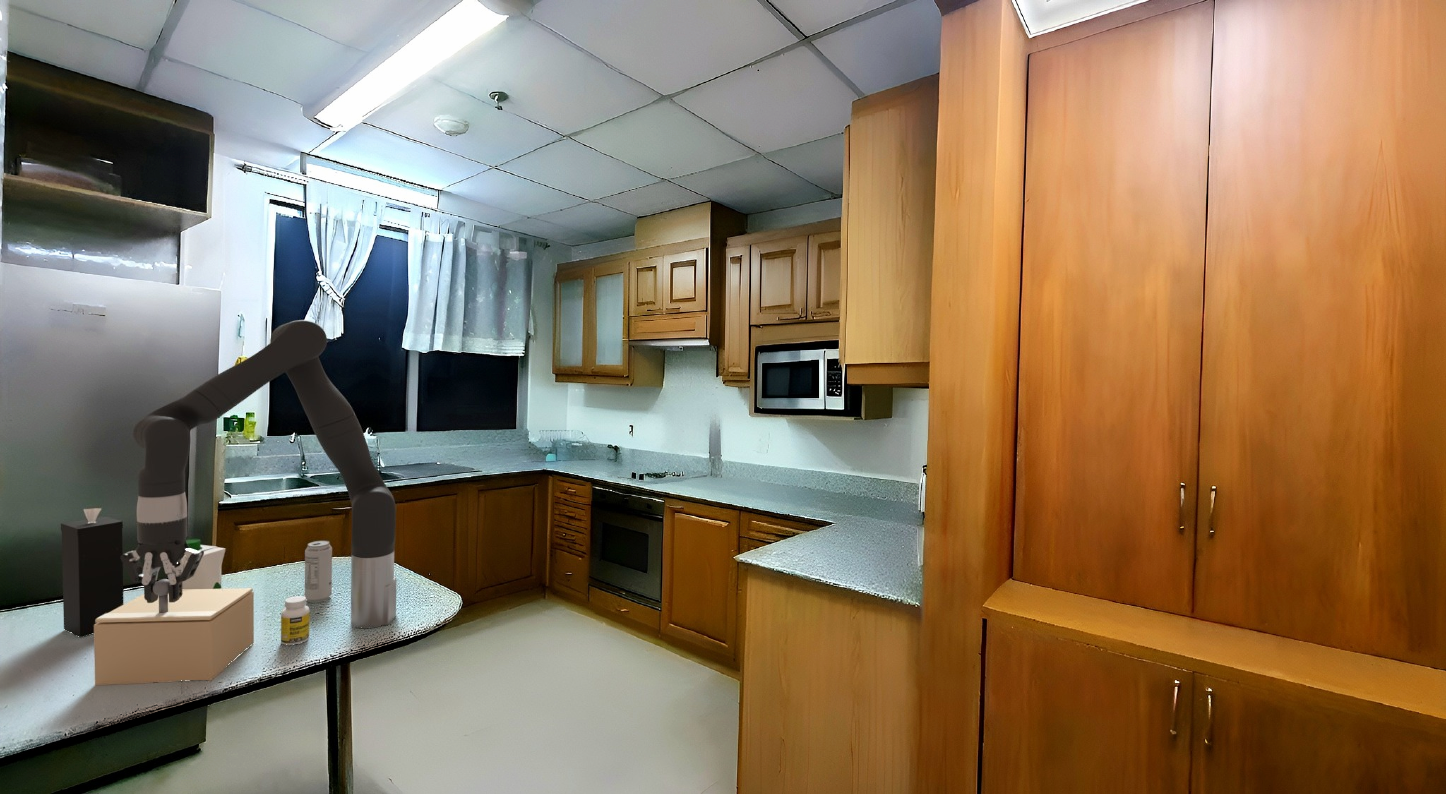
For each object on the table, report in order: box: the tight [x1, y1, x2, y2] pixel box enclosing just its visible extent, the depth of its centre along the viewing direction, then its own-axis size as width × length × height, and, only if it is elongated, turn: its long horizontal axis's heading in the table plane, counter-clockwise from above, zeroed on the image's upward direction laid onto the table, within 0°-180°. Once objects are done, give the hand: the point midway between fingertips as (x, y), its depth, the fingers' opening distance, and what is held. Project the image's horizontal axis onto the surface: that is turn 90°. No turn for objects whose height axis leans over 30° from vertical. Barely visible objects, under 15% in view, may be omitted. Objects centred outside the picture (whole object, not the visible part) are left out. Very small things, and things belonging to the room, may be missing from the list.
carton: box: [93, 591, 255, 686], centre depth 135 cm, size 20×16×12 cm
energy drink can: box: [304, 540, 333, 604], centre depth 171 cm, size 6×6×15 cm
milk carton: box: [181, 538, 227, 589], centre depth 152 cm, size 9×9×20 cm
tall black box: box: [60, 507, 125, 638], centre depth 148 cm, size 8×8×28 cm
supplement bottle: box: [280, 595, 311, 646], centre depth 147 cm, size 5×5×10 cm
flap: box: [95, 578, 254, 623], centre depth 134 cm, size 20×16×7 cm
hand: (163, 600), depth 130 cm, fingers closed on flap, 3 cm apart
